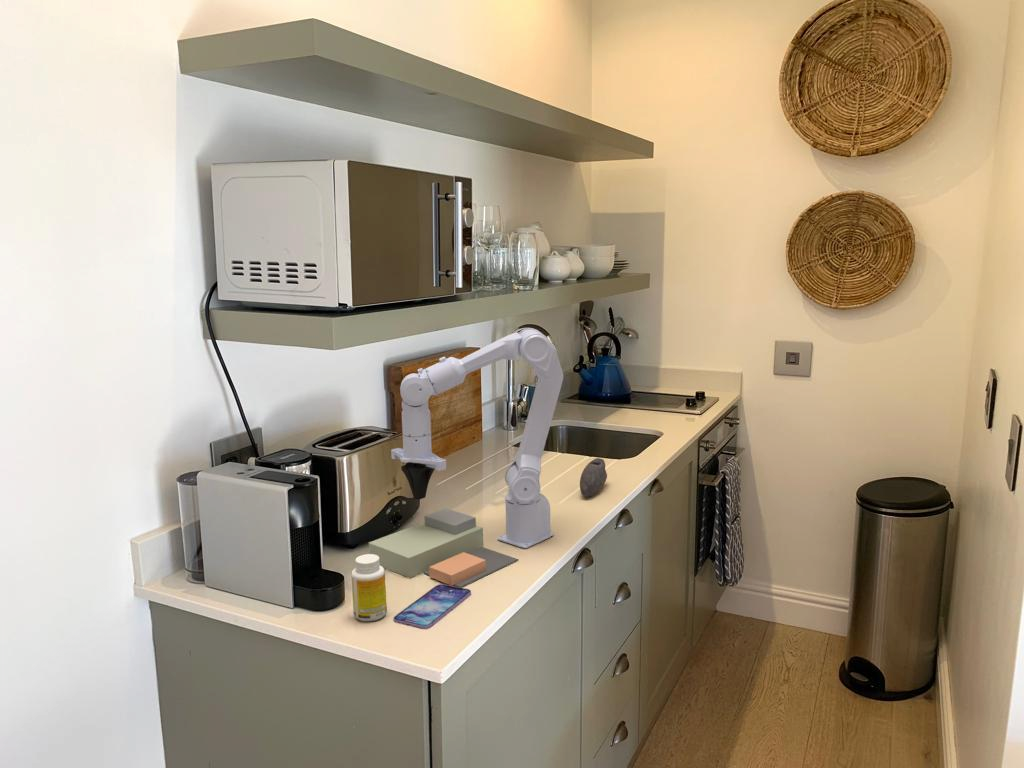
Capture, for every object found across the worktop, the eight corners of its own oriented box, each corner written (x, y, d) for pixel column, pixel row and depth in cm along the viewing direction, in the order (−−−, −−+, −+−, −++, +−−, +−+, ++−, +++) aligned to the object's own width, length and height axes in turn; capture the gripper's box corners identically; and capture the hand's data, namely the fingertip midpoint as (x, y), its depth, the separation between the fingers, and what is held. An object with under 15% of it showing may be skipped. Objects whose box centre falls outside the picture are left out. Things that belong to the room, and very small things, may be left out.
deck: (443, 532, 172) (442, 514, 171) (483, 546, 164) (482, 527, 163) (369, 561, 157) (368, 542, 156) (409, 578, 149) (408, 558, 149)
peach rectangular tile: (485, 560, 151) (485, 569, 152) (463, 552, 155) (463, 561, 156) (451, 575, 145) (451, 585, 145) (429, 566, 149) (429, 576, 149)
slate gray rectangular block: (424, 525, 165) (424, 515, 165) (445, 517, 170) (445, 508, 169) (455, 535, 159) (454, 525, 159) (475, 526, 164) (475, 517, 163)
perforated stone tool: (593, 502, 189) (592, 474, 188) (572, 500, 191) (571, 472, 190) (610, 484, 203) (610, 457, 201) (590, 482, 205) (590, 456, 203)
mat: (481, 548, 163) (481, 546, 163) (518, 560, 156) (518, 559, 156) (423, 573, 151) (423, 572, 151) (460, 588, 145) (460, 586, 145)
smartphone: (390, 618, 133) (438, 583, 146) (390, 624, 133) (439, 588, 146) (427, 627, 130) (473, 589, 143) (427, 632, 130) (473, 594, 143)
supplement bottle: (393, 615, 135) (390, 558, 133) (364, 626, 131) (361, 568, 129) (375, 604, 139) (372, 549, 137) (347, 614, 135) (344, 558, 134)
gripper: (378, 432, 162) (381, 495, 165) (426, 443, 152) (429, 510, 155) (404, 425, 167) (407, 487, 170) (452, 436, 158) (455, 501, 160)
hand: (419, 498), depth 163 cm, fingers closed
